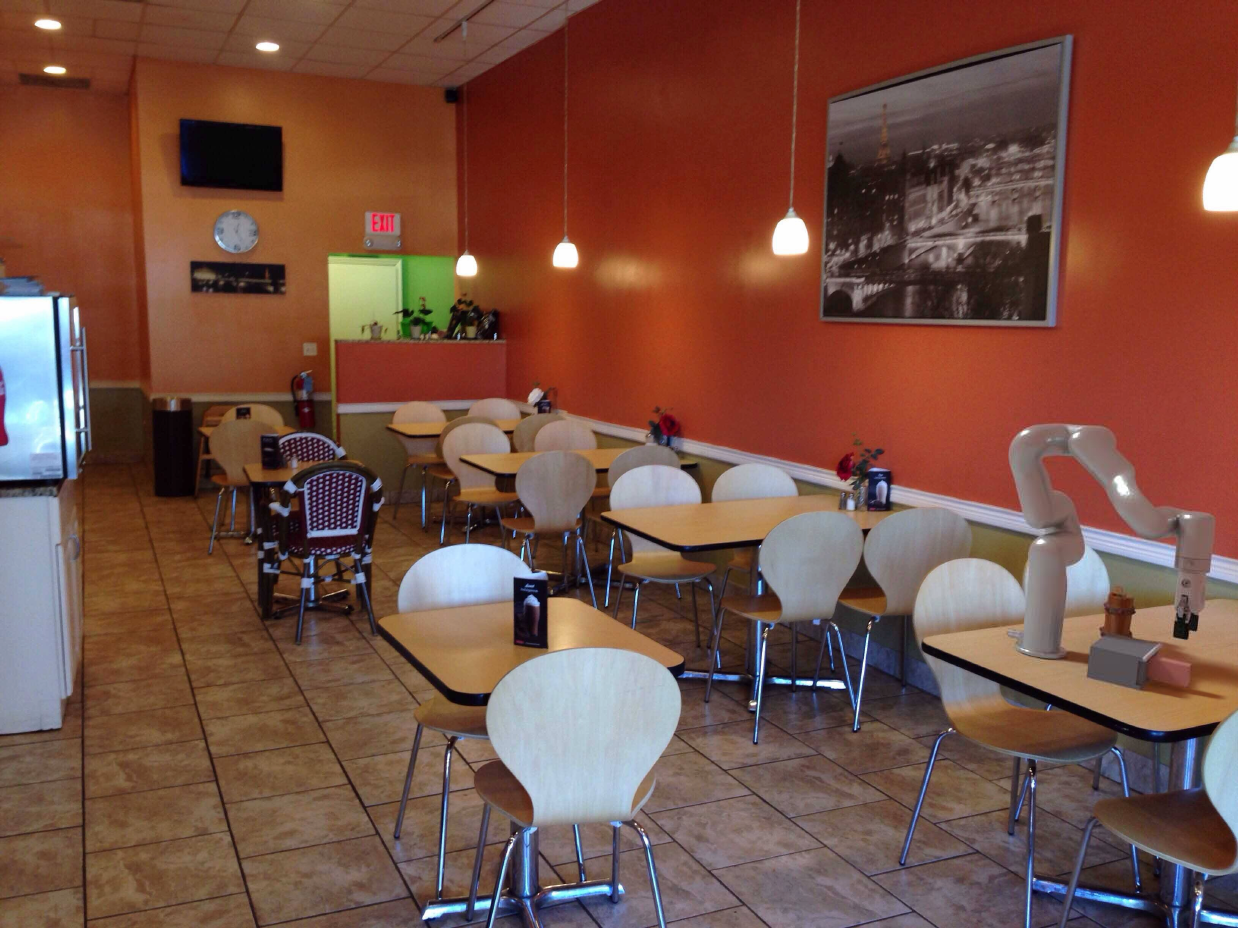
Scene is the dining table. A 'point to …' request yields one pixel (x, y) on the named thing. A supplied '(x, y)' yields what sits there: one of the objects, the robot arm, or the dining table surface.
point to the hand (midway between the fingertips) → (1185, 634)
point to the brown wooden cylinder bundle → (1118, 613)
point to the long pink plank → (1169, 670)
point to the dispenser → (1121, 660)
